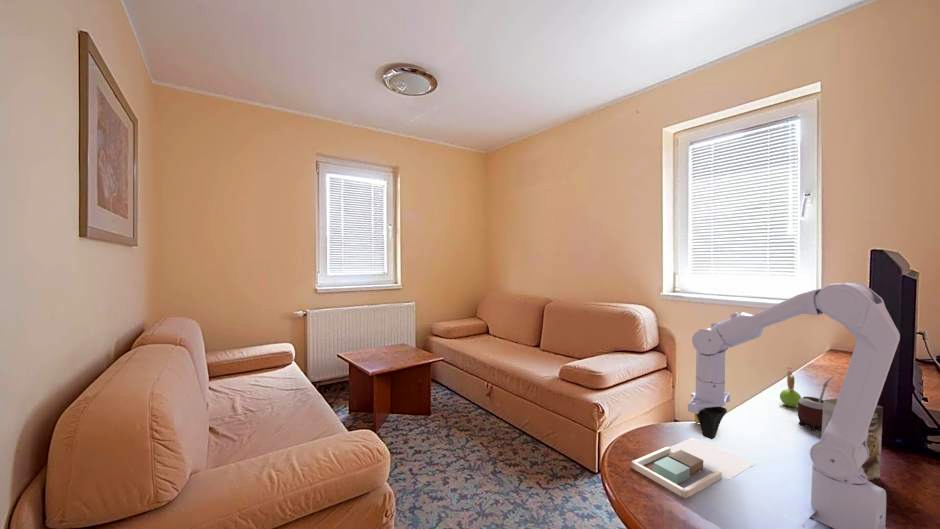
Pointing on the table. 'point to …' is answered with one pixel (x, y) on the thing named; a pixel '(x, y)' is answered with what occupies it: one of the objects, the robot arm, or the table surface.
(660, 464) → the mint green block
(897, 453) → the table surface
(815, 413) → the mate gourd
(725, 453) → the beige board
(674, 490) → the box
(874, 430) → the coffee box
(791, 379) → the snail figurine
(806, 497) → the table surface
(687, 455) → the brown square block
